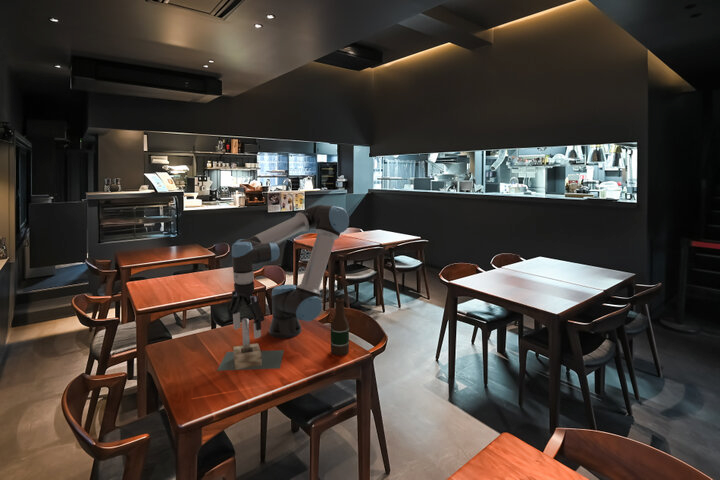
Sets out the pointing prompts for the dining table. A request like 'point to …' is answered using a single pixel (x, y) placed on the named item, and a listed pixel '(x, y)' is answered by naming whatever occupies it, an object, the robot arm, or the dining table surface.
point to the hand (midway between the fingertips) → (247, 332)
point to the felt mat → (268, 362)
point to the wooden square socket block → (247, 357)
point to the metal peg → (245, 335)
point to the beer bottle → (339, 330)
